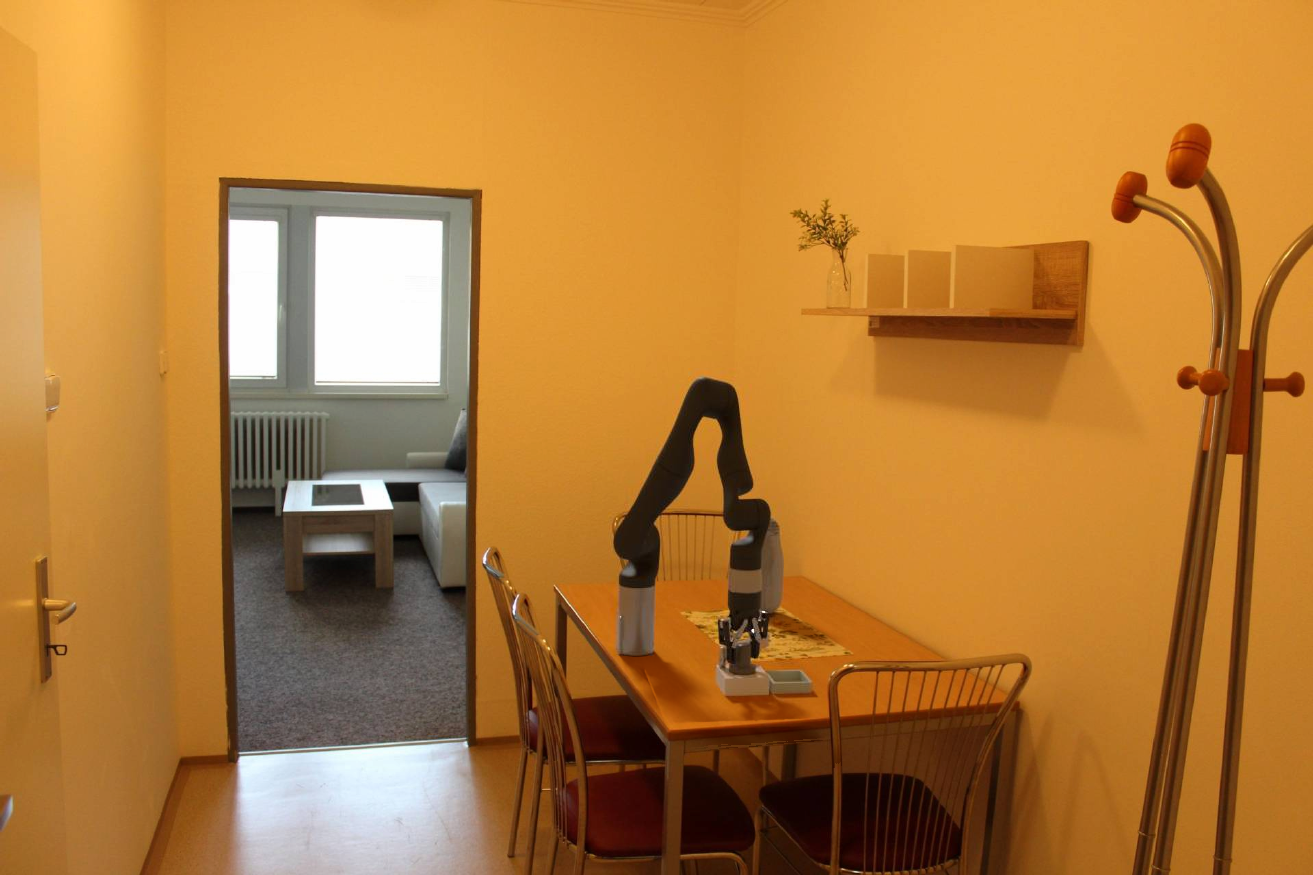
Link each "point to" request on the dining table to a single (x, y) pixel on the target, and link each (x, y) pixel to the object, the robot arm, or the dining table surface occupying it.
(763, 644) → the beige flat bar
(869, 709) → the dining table surface
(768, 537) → the grey bottle
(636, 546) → the robot arm
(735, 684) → the socket block
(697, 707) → the dining table surface
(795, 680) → the tray
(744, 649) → the plug
